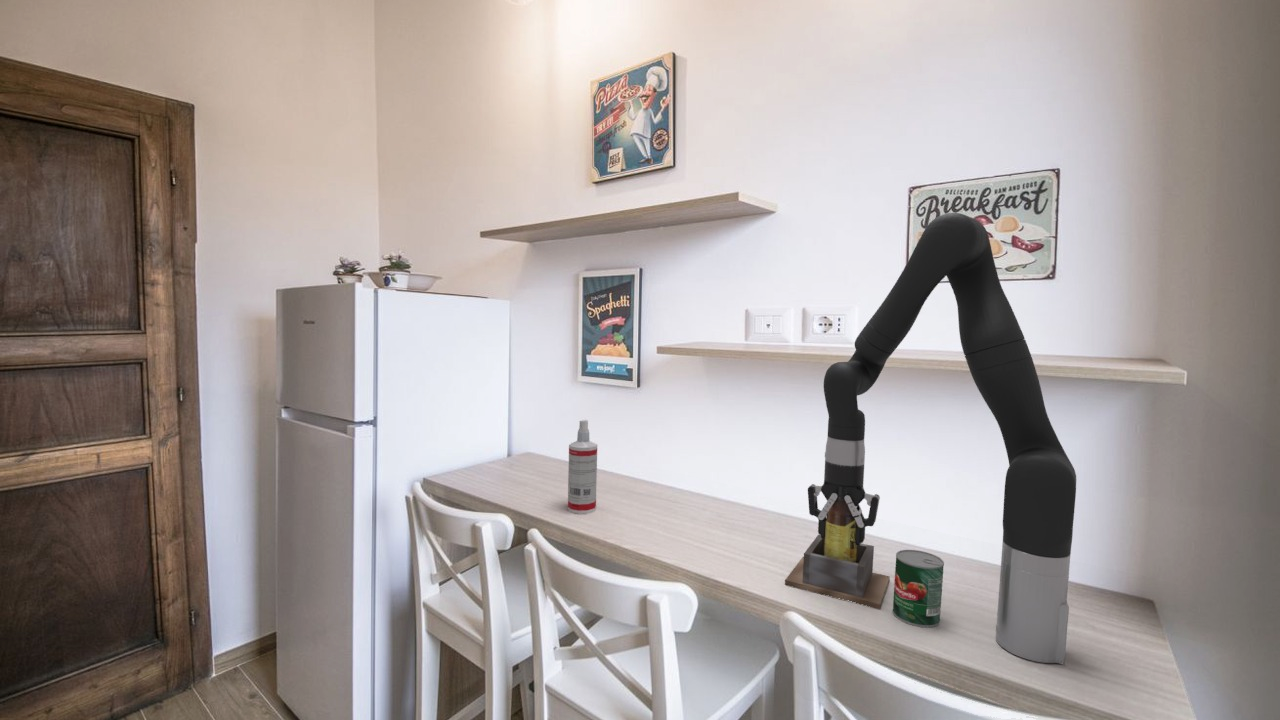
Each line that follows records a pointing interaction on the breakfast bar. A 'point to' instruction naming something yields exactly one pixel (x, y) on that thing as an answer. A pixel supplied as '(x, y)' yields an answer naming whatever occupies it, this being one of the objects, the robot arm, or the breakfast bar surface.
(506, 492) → the breakfast bar surface
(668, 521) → the breakfast bar surface
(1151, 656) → the breakfast bar surface
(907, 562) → the canned tomato
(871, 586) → the bottle holder
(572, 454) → the spray bottle
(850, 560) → the sauce bottle
